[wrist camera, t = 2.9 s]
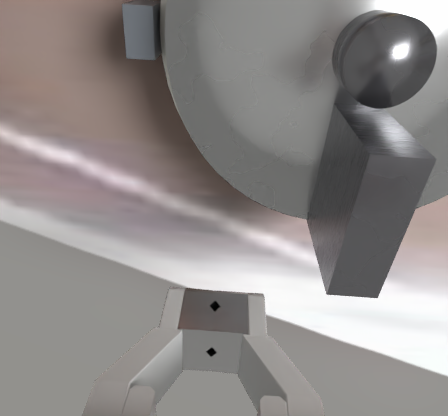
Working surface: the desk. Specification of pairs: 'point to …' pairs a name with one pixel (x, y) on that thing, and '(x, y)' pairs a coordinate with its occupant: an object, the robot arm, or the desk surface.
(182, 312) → the robot arm
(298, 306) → the desk surface
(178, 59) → the dial
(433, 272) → the desk surface
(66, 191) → the desk surface
